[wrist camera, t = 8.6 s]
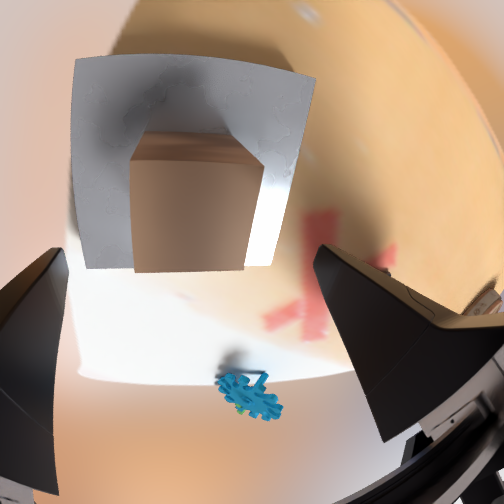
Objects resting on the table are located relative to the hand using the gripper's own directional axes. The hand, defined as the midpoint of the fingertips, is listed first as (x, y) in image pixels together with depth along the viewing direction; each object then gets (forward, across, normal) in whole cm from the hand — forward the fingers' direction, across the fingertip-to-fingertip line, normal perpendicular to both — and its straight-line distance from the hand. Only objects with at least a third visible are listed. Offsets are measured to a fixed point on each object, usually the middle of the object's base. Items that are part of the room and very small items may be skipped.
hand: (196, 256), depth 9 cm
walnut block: (+8, 0, 0) cm, 8 cm away
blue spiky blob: (+11, -9, +30) cm, 33 cm away
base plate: (+11, 0, 0) cm, 11 cm away
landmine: (+11, -85, +34) cm, 92 cm away
